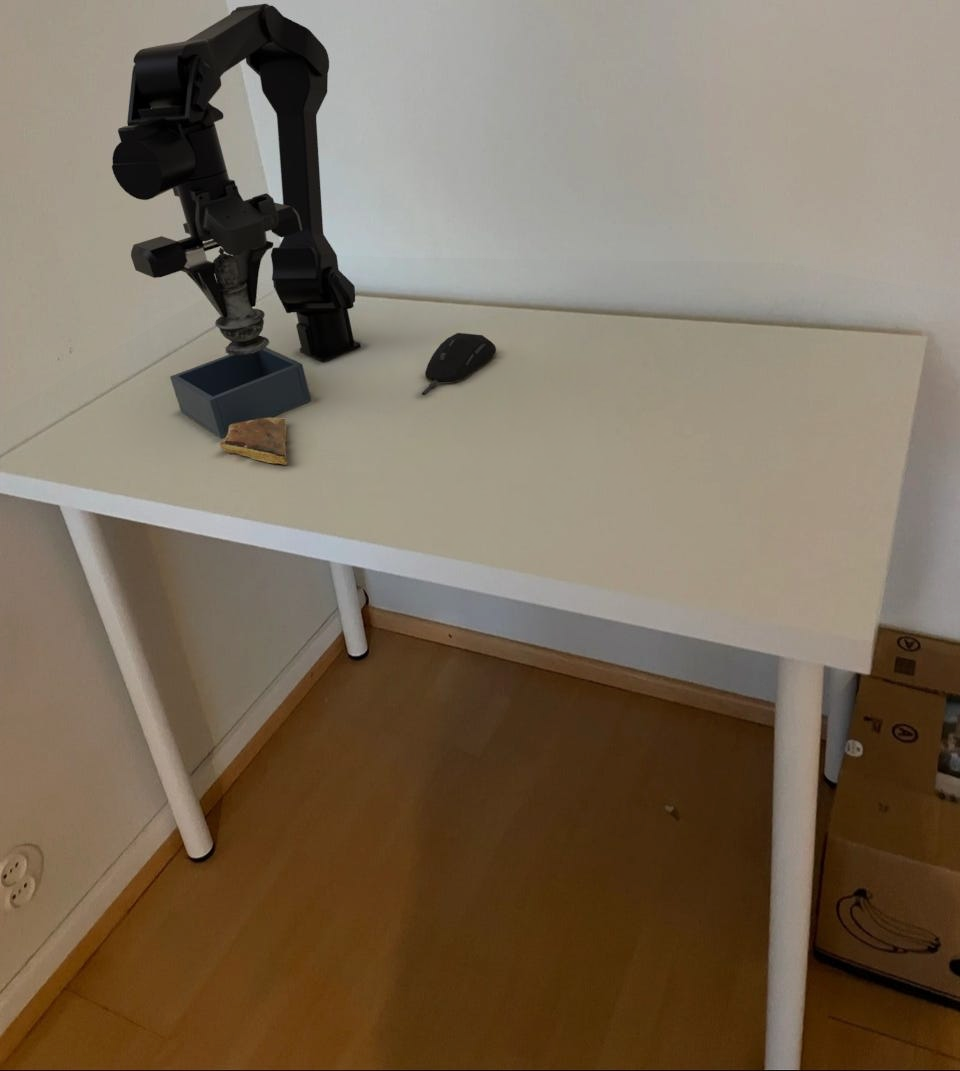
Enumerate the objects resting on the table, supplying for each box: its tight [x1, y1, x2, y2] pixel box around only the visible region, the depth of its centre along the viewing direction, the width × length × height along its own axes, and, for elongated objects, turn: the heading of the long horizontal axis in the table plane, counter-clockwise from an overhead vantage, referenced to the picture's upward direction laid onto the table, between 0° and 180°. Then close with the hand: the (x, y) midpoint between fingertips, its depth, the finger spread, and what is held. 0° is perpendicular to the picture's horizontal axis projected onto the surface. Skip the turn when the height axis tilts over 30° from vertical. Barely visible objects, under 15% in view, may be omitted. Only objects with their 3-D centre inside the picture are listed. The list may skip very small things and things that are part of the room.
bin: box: [169, 346, 312, 439], centre depth 120 cm, size 13×12×5 cm
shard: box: [219, 417, 288, 466], centre depth 109 cm, size 11×8×2 cm
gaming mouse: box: [421, 332, 497, 396], centre depth 121 cm, size 6×15×4 cm, turn 149°
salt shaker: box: [212, 247, 270, 355], centre depth 112 cm, size 6×6×12 cm
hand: (238, 311), depth 112 cm, fingers closed on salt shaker, 3 cm apart
